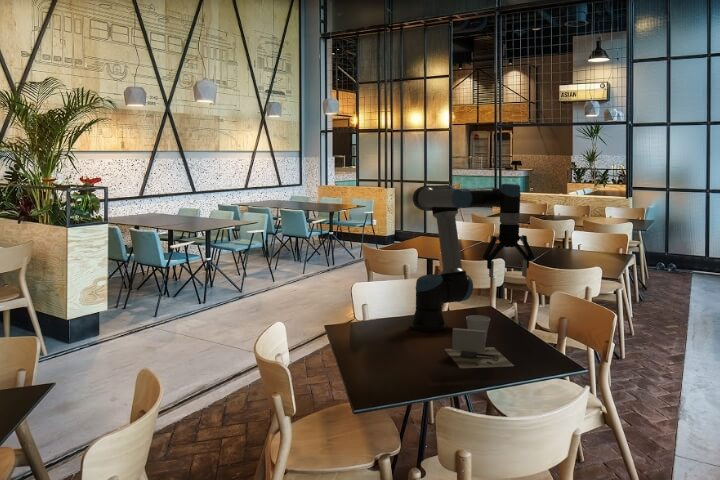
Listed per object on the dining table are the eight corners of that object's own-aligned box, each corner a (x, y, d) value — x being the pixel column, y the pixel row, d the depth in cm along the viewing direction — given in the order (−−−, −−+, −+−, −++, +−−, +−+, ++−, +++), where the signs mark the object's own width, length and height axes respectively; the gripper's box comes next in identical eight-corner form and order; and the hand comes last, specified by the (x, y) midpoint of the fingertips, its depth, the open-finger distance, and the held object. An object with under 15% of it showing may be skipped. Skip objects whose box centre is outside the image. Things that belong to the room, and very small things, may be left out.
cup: (490, 348, 236) (490, 322, 234) (464, 347, 238) (465, 320, 236) (489, 341, 245) (490, 315, 244) (465, 340, 247) (465, 314, 246)
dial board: (444, 352, 232) (444, 348, 232) (493, 350, 234) (493, 346, 234) (460, 371, 210) (460, 367, 210) (514, 369, 212) (514, 365, 212)
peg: (451, 356, 222) (452, 330, 221) (453, 351, 228) (454, 326, 227) (493, 360, 218) (494, 334, 217) (494, 355, 224) (495, 329, 222)
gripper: (481, 224, 226) (480, 279, 229) (544, 224, 229) (541, 277, 232) (475, 222, 233) (474, 275, 236) (536, 222, 236) (534, 274, 239)
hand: (507, 277), depth 234 cm, fingers open, 13 cm apart
